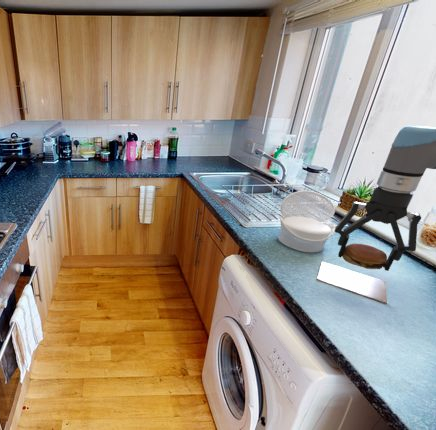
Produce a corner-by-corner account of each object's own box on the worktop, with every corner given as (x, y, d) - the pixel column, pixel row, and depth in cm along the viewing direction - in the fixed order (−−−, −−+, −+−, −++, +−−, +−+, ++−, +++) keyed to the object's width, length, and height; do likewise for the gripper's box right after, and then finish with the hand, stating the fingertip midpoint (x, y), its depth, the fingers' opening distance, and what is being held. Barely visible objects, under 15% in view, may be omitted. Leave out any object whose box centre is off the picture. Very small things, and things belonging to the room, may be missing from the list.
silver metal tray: (384, 281, 96) (385, 280, 96) (386, 304, 86) (387, 303, 86) (321, 262, 106) (321, 261, 106) (316, 279, 96) (316, 278, 96)
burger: (333, 253, 87) (339, 239, 85) (363, 253, 87) (369, 240, 85) (359, 272, 78) (365, 258, 76) (392, 272, 78) (399, 258, 76)
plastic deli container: (277, 249, 114) (291, 202, 106) (269, 227, 131) (281, 186, 123) (335, 258, 108) (354, 210, 100) (319, 235, 126) (334, 192, 117)
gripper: (340, 183, 77) (315, 253, 86) (462, 203, 65) (417, 283, 74) (341, 177, 83) (317, 243, 92) (454, 194, 70) (413, 270, 79)
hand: (362, 261), depth 83 cm, fingers closed on burger, 10 cm apart
